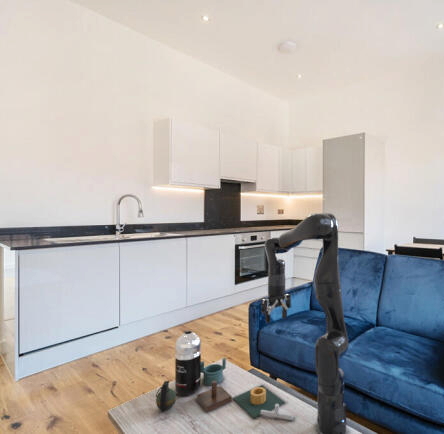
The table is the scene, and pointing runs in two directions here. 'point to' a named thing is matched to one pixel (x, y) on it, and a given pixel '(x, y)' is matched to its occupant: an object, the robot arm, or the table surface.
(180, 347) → the black ribbed cylinder
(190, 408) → the table surface
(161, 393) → the hand grenade
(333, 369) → the robot arm
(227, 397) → the tape holder
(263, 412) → the pipe joint
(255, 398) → the tape roll
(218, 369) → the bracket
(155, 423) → the table surface
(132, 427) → the table surface
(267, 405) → the desk mat
